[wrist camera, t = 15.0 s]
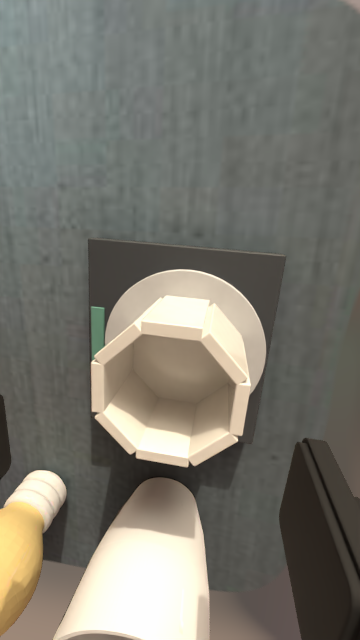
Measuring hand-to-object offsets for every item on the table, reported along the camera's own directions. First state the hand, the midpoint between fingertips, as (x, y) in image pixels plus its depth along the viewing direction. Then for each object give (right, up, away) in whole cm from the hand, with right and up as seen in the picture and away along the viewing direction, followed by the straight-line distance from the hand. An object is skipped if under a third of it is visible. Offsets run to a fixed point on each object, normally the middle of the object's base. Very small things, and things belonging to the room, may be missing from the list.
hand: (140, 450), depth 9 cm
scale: (+1, +3, +10) cm, 10 cm away
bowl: (+1, +2, +8) cm, 8 cm away
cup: (0, -10, +14) cm, 18 cm away
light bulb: (-10, -10, +16) cm, 21 cm away
